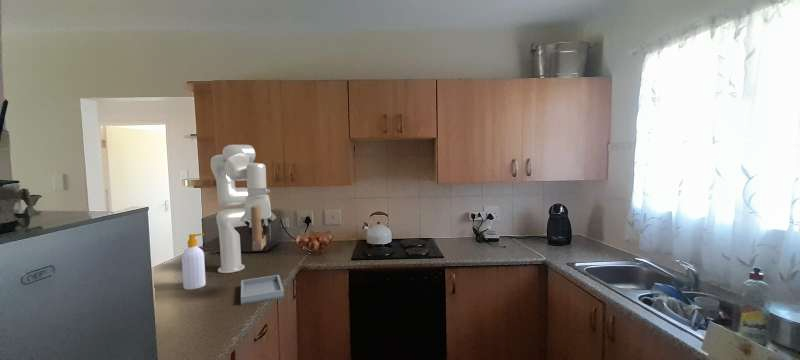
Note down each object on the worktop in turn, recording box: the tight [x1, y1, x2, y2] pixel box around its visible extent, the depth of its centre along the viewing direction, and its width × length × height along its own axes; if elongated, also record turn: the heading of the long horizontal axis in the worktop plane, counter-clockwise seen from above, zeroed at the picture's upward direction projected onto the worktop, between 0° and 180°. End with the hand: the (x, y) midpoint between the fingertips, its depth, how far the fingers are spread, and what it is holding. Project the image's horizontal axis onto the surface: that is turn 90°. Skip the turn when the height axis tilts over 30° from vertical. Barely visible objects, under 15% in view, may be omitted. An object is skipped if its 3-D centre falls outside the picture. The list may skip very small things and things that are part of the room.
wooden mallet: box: [251, 206, 267, 252], centre depth 146 cm, size 4×11×18 cm, turn 12°
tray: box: [240, 274, 285, 306], centre depth 148 cm, size 22×16×3 cm
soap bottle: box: [181, 233, 206, 291], centre depth 156 cm, size 9×9×24 cm
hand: (259, 235), depth 146 cm, fingers closed on wooden mallet, 4 cm apart
